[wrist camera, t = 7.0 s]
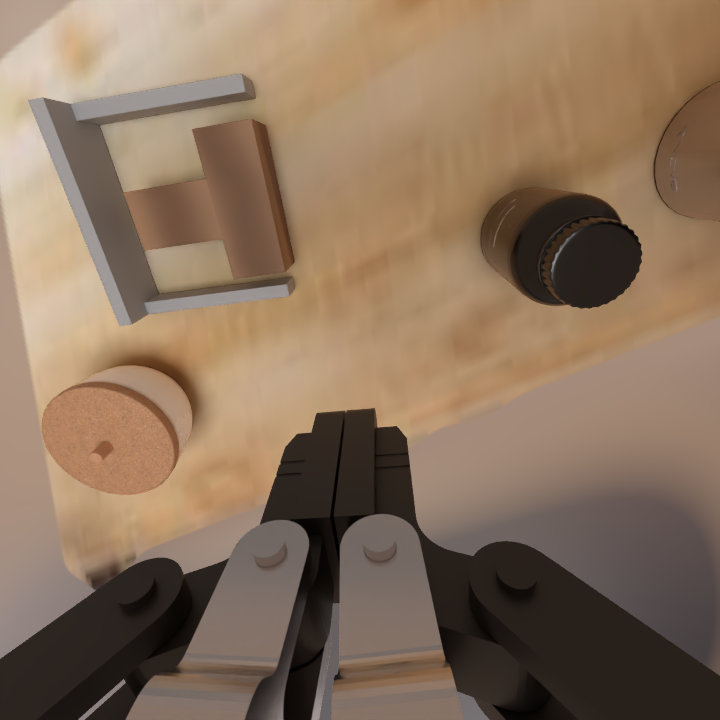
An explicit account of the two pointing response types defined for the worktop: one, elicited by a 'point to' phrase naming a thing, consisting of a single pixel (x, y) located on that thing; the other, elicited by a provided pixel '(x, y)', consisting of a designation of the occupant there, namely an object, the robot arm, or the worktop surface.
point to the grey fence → (107, 202)
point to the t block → (222, 202)
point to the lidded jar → (119, 429)
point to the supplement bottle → (561, 247)
